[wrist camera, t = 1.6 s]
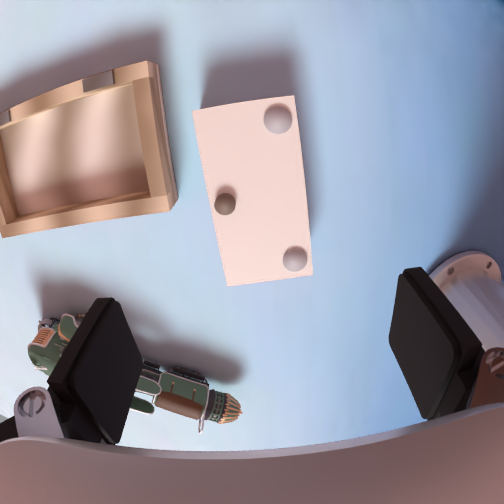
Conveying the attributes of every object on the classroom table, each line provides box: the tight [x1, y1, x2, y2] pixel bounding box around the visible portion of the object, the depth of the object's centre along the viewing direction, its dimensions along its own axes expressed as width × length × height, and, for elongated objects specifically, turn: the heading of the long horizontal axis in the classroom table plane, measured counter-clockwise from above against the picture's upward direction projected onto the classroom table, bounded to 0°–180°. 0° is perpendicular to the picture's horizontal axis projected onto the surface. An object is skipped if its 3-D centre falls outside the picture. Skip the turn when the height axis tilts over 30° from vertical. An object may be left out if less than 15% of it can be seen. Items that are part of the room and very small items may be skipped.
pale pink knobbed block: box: [192, 95, 313, 286], centre depth 23 cm, size 13×6×4 cm, turn 9°
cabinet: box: [0, 61, 178, 238], centre depth 21 cm, size 17×11×3 cm, turn 96°
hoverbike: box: [28, 313, 242, 433], centre depth 30 cm, size 10×25×8 cm, turn 67°
